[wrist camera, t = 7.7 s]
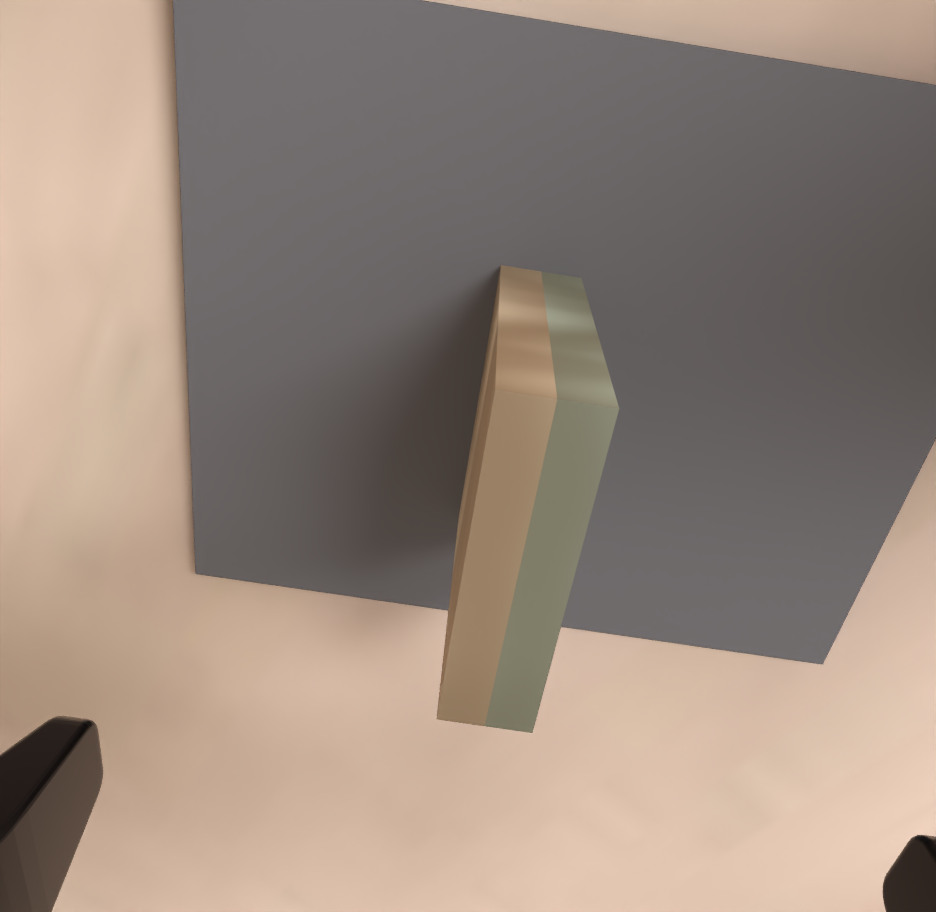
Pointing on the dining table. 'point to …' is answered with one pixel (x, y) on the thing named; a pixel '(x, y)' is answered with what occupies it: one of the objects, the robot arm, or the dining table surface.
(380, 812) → the dining table surface
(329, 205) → the mat
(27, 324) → the dining table surface
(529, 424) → the tile
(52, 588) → the dining table surface
